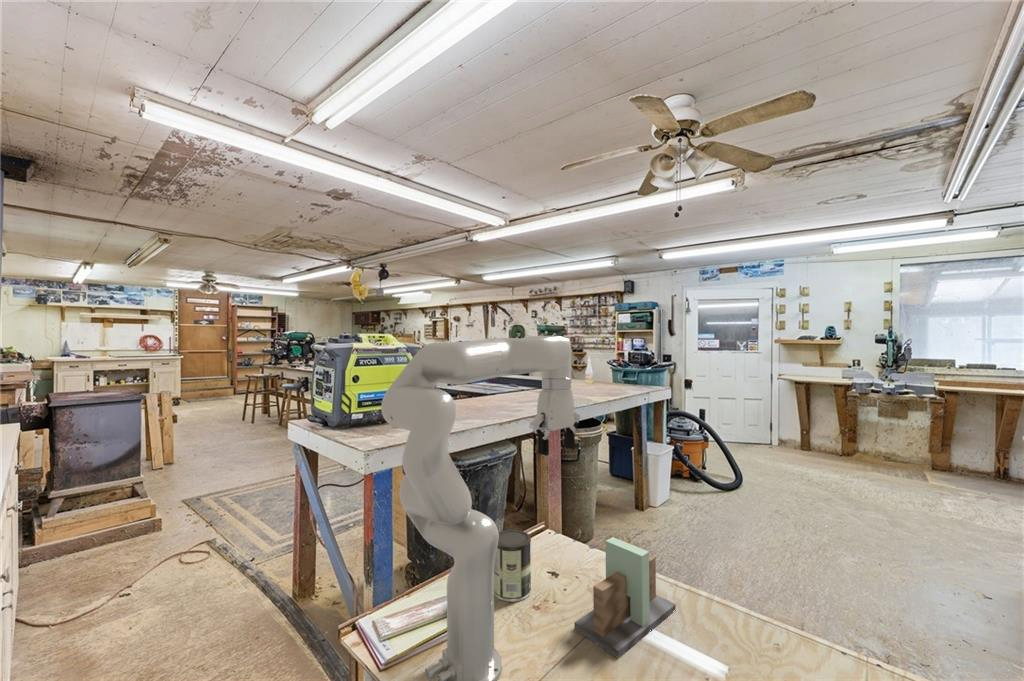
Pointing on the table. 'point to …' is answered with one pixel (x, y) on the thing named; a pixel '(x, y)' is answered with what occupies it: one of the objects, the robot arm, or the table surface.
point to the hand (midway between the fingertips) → (556, 451)
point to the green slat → (631, 575)
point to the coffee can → (512, 566)
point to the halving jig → (621, 614)
